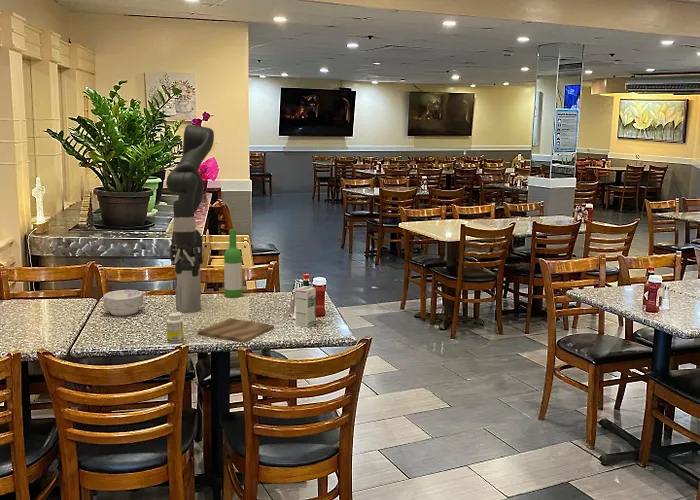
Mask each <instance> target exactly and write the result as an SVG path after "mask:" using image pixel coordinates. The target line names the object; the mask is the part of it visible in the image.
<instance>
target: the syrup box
mask: <svg viewBox="0 0 700 500" xmlns="http://www.w3.org/2000/svg"><path fill="white" fill-rule="evenodd" d="M316 289H317V288H316V287H314V286H309V285H307V286H306V285H303V286H301V287H297V288H295V290H294V291H295V293H294V294H295V297H294V298H295V302H294V303H295V307H294V308H295V326H298V327H303V328H309V327H311V326H314V325H316V324H317V322H316V321H317V314H316V313H317V311H316V310H317V305H316V303H317V299H316V298H317V296H316V295H317V294H316V292H317V290H316Z"/></svg>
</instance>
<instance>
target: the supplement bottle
mask: <svg viewBox="0 0 700 500" xmlns="http://www.w3.org/2000/svg"><path fill="white" fill-rule="evenodd" d="M183 325H184V324H183V319H182V318H181V314H180V313H179V312H173V313H169V314H168V319H167V320H166V335H167V336H166V338H167V342H168V343H170V344H179V343H181V342H183V340H184V335H183V334H184V331H183V330H184V326H183Z"/></svg>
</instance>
